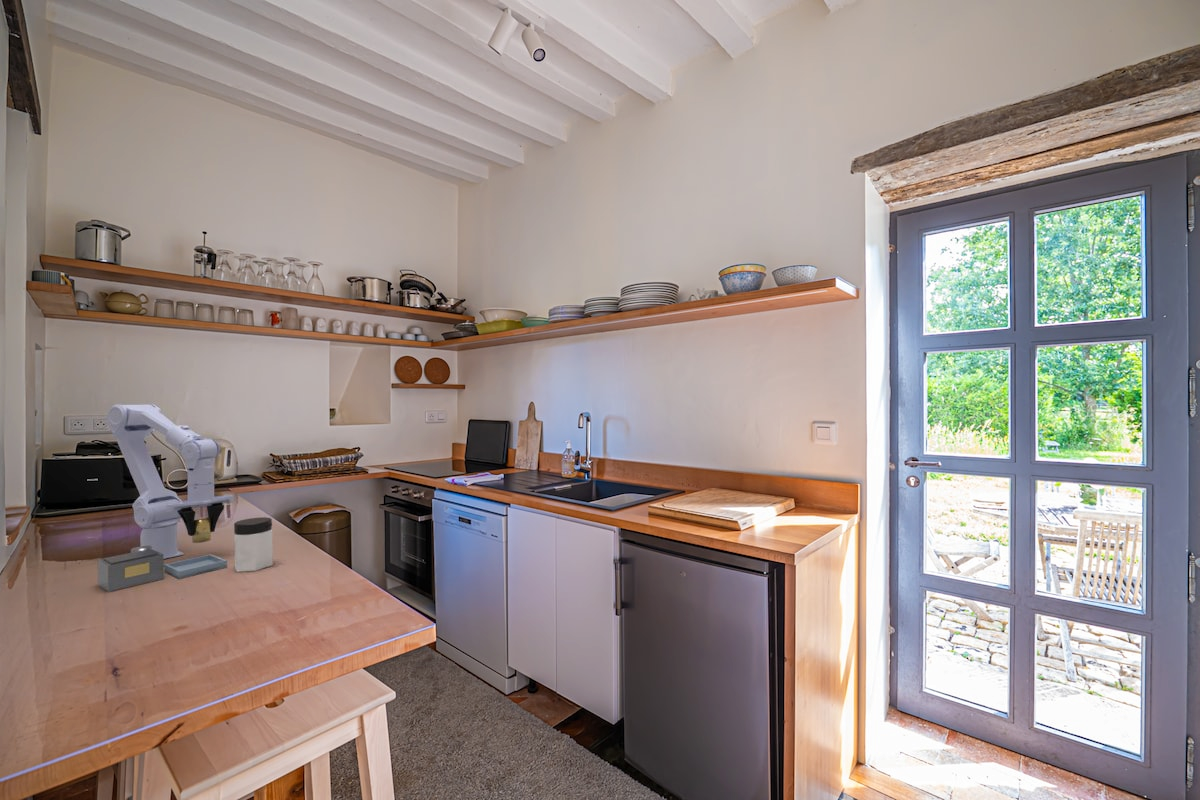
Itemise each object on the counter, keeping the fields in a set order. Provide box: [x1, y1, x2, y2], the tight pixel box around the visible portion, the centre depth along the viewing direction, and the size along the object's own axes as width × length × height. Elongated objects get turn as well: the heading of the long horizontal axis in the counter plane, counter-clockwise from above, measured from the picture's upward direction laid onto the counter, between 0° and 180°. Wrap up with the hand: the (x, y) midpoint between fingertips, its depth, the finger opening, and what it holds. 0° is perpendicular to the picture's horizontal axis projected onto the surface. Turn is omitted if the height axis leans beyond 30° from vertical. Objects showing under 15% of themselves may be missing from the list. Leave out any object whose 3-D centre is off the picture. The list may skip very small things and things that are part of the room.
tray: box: [164, 553, 228, 580], centre depth 131 cm, size 10×10×2 cm
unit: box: [97, 549, 165, 593], centre depth 122 cm, size 9×10×6 cm
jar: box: [233, 516, 274, 573], centre depth 133 cm, size 9×8×12 cm
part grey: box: [130, 546, 152, 553], centre depth 130 cm, size 4×4×6 cm
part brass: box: [191, 516, 212, 544], centre depth 139 cm, size 4×4×6 cm
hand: (201, 533), depth 139 cm, fingers closed on part brass, 4 cm apart
